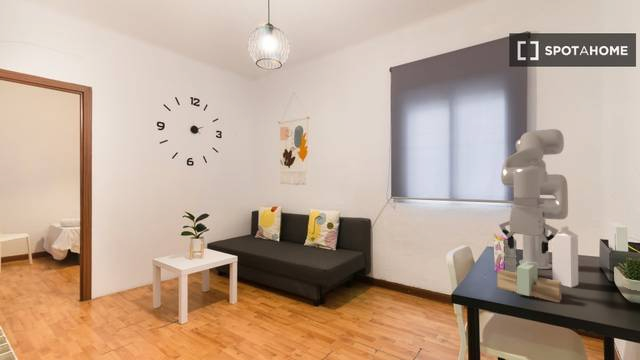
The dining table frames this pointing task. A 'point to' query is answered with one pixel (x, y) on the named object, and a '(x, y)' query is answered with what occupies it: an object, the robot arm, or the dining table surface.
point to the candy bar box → (504, 254)
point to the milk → (565, 257)
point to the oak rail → (540, 289)
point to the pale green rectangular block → (526, 277)
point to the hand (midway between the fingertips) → (527, 250)
